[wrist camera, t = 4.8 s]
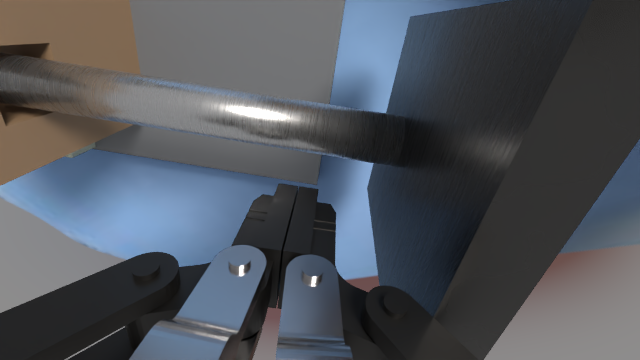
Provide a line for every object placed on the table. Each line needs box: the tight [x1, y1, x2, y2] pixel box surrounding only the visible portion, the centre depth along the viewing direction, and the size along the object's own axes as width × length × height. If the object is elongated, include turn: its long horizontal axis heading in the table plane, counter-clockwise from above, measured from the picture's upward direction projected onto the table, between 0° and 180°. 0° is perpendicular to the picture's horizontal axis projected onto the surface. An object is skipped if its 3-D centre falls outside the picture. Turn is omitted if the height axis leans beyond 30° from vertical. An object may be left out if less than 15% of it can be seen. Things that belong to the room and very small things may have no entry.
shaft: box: [0, 0, 640, 360], centre depth 10 cm, size 19×9×11 cm, turn 82°
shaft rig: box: [0, 0, 345, 186], centre depth 14 cm, size 28×13×11 cm, turn 82°
